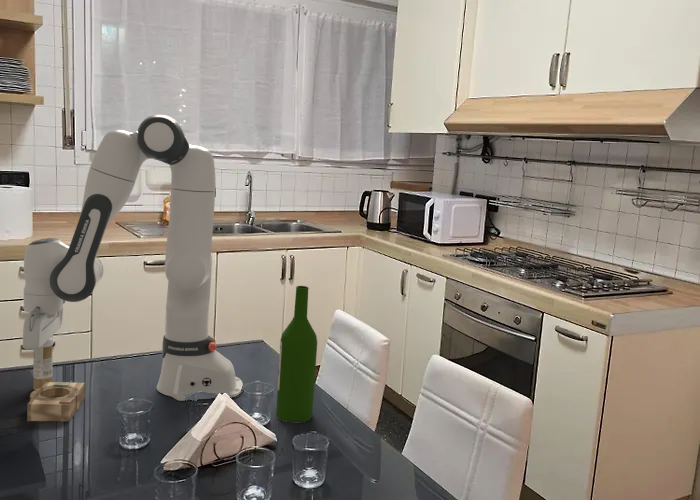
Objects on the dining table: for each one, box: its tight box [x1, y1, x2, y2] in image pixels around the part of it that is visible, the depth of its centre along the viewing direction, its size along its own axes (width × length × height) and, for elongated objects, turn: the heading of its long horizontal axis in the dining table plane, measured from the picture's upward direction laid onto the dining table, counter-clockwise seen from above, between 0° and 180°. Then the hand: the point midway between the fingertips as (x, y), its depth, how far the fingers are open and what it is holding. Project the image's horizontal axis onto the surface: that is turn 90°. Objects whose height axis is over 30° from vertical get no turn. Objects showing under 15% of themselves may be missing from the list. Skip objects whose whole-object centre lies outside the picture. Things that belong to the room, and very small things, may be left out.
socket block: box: [26, 381, 86, 422], centre depth 154 cm, size 10×14×4 cm
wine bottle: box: [275, 285, 318, 423], centre depth 158 cm, size 9×9×32 cm
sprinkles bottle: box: [32, 337, 54, 391], centre depth 165 cm, size 5×5×14 cm
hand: (43, 356), depth 165 cm, fingers closed on sprinkles bottle, 4 cm apart
